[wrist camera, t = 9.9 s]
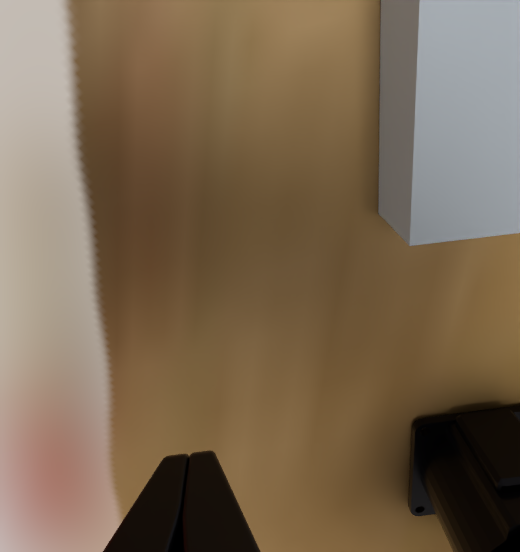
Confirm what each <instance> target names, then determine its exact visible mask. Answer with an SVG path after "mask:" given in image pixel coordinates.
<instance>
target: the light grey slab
mask: <svg viewBox="0 0 520 552" xmlns="http://www.w3.org/2000/svg"><path fill="white" fill-rule="evenodd" d="M378 214H379V215H380V216H381V217H382V218H383V219H384V220H385V221H386V222H387V223H388V224H389V225H390V226H391V227H392V228H393V229H394V230H395V231H396V232H397V233H398V234H399V235H400V236H401V237H402V239H403V240H404V241H405V242H406V243H407V244H408V245H409V246H413V245H422V244H430V243H439V242H447V241H455V240H464V239H472V238H481V237H489V236H498V235H506V234H514V233H520V0H381V24H380V118H379V212H378Z"/></svg>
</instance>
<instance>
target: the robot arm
mask: <svg viewBox="0 0 520 552" xmlns="http://www.w3.org/2000/svg"><path fill="white" fill-rule="evenodd" d="M423 428H425V429H423ZM422 429H423V430H422ZM408 506H409V509H410V511H411V513H412V514H413V515H415V516H423V515H431V514H436V515H437V517H438V519H439V521H440V524H441V526H442V528H443V530H444V532H445V534H446V536H447V539H448V541H449V543H450V545H451V547H452V549H453V551H454V552H520V406H513V407H505V408H497V409H490V410H482V411H474V412H466V413H459V414H451V415H443V416H435V417H428V418H421V419H418V420H417V421H415V422H414V424H413V426H412V440H411V460H410V479H409V498H408ZM103 552H260V550H259V548H258V545H257V543H256V541H255V539H254V537H253V535H252V532H251V530H250V528H249V526H248V524H247V522H246V519H245V517H244V515H243V513H242V511H241V509H240V506H239V504H238V502H237V500H236V498H235V496H234V493H233V491H232V489H231V487H230V485H229V483H228V480H227V478H226V476H225V474H224V472H223V470H222V467H221V465H220V463H219V461H218V459H217V457H216V454H215V453H214V452H213V451H203V452H194V453H192V454H191V455H190V456H189V455H187V454H178V455H170V456H166V457H165V458H164V459H163V460H162V461H161V463H160V464H159V466H158V467H157V469H156V470H155V472H154V474H153V475H152V477H151V478H150V480H149V481H148V483H147V484H146V486H145V487H144V489H143V491H142V492H141V494H140V495H139V497H138V498H137V500H136V501H135V503H134V504H133V506H132V508H131V509H130V511H129V512H128V514H127V515H126V517H125V518H124V520H123V521H122V523H121V524H120V526H119V528H118V529H117V531H116V532H115V534H114V535H113V537H112V539H111V540H110V541H109V543H108V545H107V546H106V548H105V549H104V551H103Z"/></svg>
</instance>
